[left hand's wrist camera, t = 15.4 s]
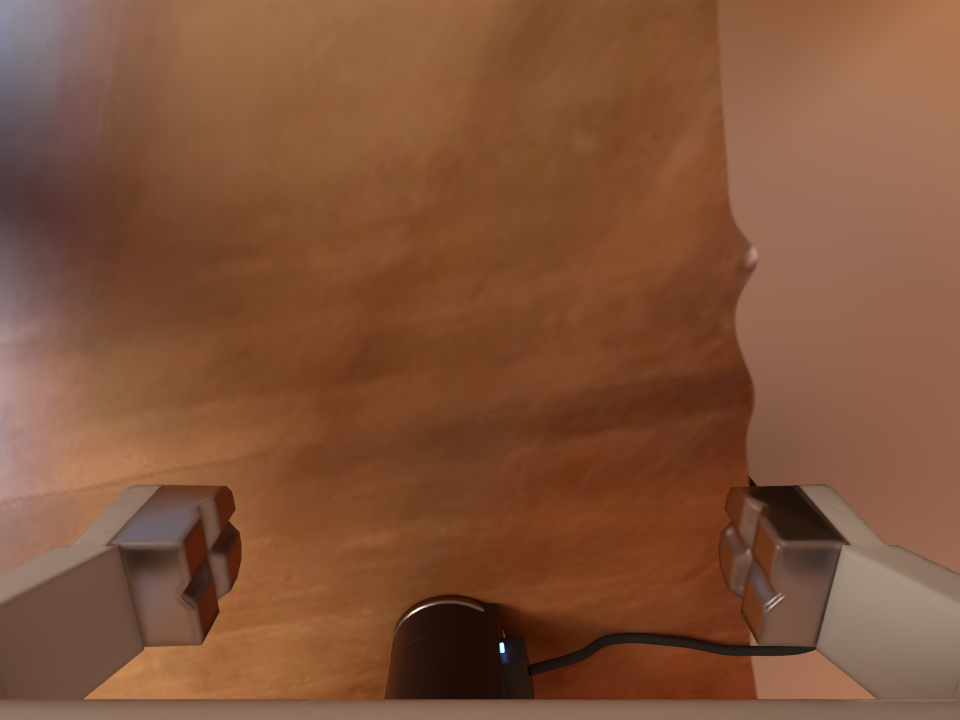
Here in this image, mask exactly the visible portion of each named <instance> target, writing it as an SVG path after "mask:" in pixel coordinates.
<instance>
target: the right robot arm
mask: <svg viewBox="0 0 960 720" xmlns="http://www.w3.org/2000/svg"><path fill="white" fill-rule="evenodd" d="M749 487H758V486H757V485H756V484H755V482H754V481H753V480H752V479H751V477H750V476H749ZM620 643H644V644H655V645H665V646H675V647H685V648H691V649H696V650H701V651H706V652H710V653H716V654H722V655H731V656H785V655H796V654H802V653H807V652H810V651H813V650H815V649H816V647H804V646H727V645H719V644H713V643H708V642H704V641H699V640H694V639H689V638H682V637H672V636H661V635H651V634H639V633H623V634H613V635H608V636H603V637H601V638H598V639H596V640H595V641H593V642H592V643H590V644H589V645H588V646H586V647H585V648H583V649H581V650H579V651H576V652H574V653H571V654H568V655H565V656H561V657H558V658H554V659H550V660H547V661H543V662H539V663H535V664H532V665H530V664H529V660H528V655H527V650H526V646H525V641H524V636H523V635H520V636H513V637H506V632H505V629H504V626H503V624H502V619H501V615H500V610H499V606H498V605H497V604H489V605H483V604H481V603H479V602H477V601H474V600H472V599H468V598H464V597H459V596H439V597H434V598H430V599H426V600H424V601H421V602H419V603H417V604H415V605H414V606H412V607H411V608H410V609H408V610H407V611H406V612H405V613H404V614H403V615H402V617H401V618H400V619H399V621H398V623H397V625H396V628H395V631H394V637H393V647H392V653H391V662H390V668H389V674H388V681H387V687H386V693H385V699H534V688H533V678H532V675H535V674H539V673H543V672H546V671H550V670H554V669H558V668H561V667H565V666H568V665H571V664H574V663H576V662H579V661H582V660H584V659H586V658H588V657H590V656H591V655H593V654H594V653H595V652H596V651H598V650H599V649H601V648H603V647H605V646H609V645H613V644H620Z"/></svg>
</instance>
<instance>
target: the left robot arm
mask: <svg viewBox="0 0 960 720" xmlns="http://www.w3.org/2000/svg"><path fill="white" fill-rule="evenodd" d="M234 511H235V504H234V499H233V494H232V491H231V490H230V489H229V488H228V487H227V486H197V485H134V486H130V487H128V488H127V489H126V490H125V491H124V492H123V493H122V494H121V495H120V496H119V497H118V498H117V499H116V500H115V501H114V502H113V503H112V504H111V505H110V506H109V507H108V508H107V510H106V511H105V512H104V513H103V514H102V515H101V516H100V517H99V518H98V519H97V520H96V521H95V522H94V523H93V524H92V525H91V526H90V527H89V528H88V529H87V530H86V531H85V532H84V533H83V534H82V535H81V536H80V537H79V539H78V540H77V541H76V542H75V543H74V544H73V545H70V546H59V547H57V548H55V549H53V550H51V551H49V552H47V553H44V554H42V555H40V556H38V557H36V558H34V559H31V560H29V561H27V562H25V563H23V564H21V565H19V566H16V567H14V568H12V569H10V570H8V571H6V572H3V573H1V574H0V720H960V574H959V573H956V572H954V571H952V570H950V569H948V568H946V567H944V566H941V565H939V564H937V563H935V562H933V561H931V560H928V559H926V558H924V557H922V556H920V555H918V554H916V553H913V552H911V551H909V550H907V549H905V548H903V547H901V546H890V545H887V544H886V543H885V542H884V541H883V540H882V538H881V537H880V536H879V535H878V534H877V533H876V532H875V531H874V530H873V529H872V528H871V527H870V526H869V525H868V524H867V523H866V522H865V521H864V520H863V519H862V518H861V517H860V516H859V515H858V514H857V513H856V511H854V509H853V508H852V507H851V506H850V505H849V504H848V503H847V502H846V501H845V500H844V499H843V498H842V497H841V496H840V495H839V494H838V493H837V492H836V491H835V490H834V489H833V488H832V487H830V486H827V485H825V484H817V485H793V486H759V487H731V488H730V490H729V492H728V495H727V498H726V503H725V511H726V512H727V514H728V516H729V517H730V519H731V522H730V523H729V524H728V525H727V526H726V527H725V528H724V529H723V530H722V531H721V533H720V540H719V548H718V552H719V563H720V569H721V572H722V576H723V579H724V581H725V583H726V585H727V587H728V589H729V591H730V592H732V593H733V594H735V595H736V596H738V597H739V598H741V599H742V600H743V601H742V607H741V614H742V616H743V617H744V619H745V621H746V623H747V625H748V627H749V629H750V630H751V632H752V634H753V636H754V638H755V640H756V642H757V643H758V645H768V646H804V647H816V650H817V651H818V652H820V653H821V654H822V655H823V656H825V657H826V658H827V659H828V660H830V661H831V662H832V663H833V664H835V665H836V666H837V667H838V668H839V669H841V670H842V671H843V672H844V673H846V674H847V675H848V676H849V677H851V678H852V679H853V680H854V681H856V682H857V683H858V684H859V685H860V686H862V687H863V688H864V689H865V690H867V691H868V692H869V693H870V694H872V695H873V696H874V697H875V698H877V699H84V698H85V697H86V696H87V695H89V694H90V693H91V692H92V691H94V690H95V689H96V688H97V687H98V686H100V685H101V684H102V683H103V682H105V681H106V680H107V679H108V678H110V677H111V676H112V675H113V674H115V673H116V672H117V671H118V670H120V669H121V668H122V667H123V666H125V665H126V664H127V663H128V662H130V661H131V660H132V659H133V658H135V657H136V656H137V655H138V654H140V653H141V652H142V651H143V650H144V647H156V646H190V645H202V644H203V642H204V640H205V638H206V636H207V634H208V632H209V631H210V629H211V627H212V625H213V623H214V621H215V619H216V617H217V616H218V614H219V607H218V601H217V600H218V599H219V598H221V597H222V596H224V595H225V594H227V593H228V592H230V591H231V589H232V587H233V585H234V583H235V581H236V579H237V576H238V572H239V567H240V563H241V539H240V533H239V531H238V530H237V529H236V528H235V527H234V526H233V525H232V524H231V523H230V522H229V519H230V517H231V516H232V514H233V512H234Z"/></svg>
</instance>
